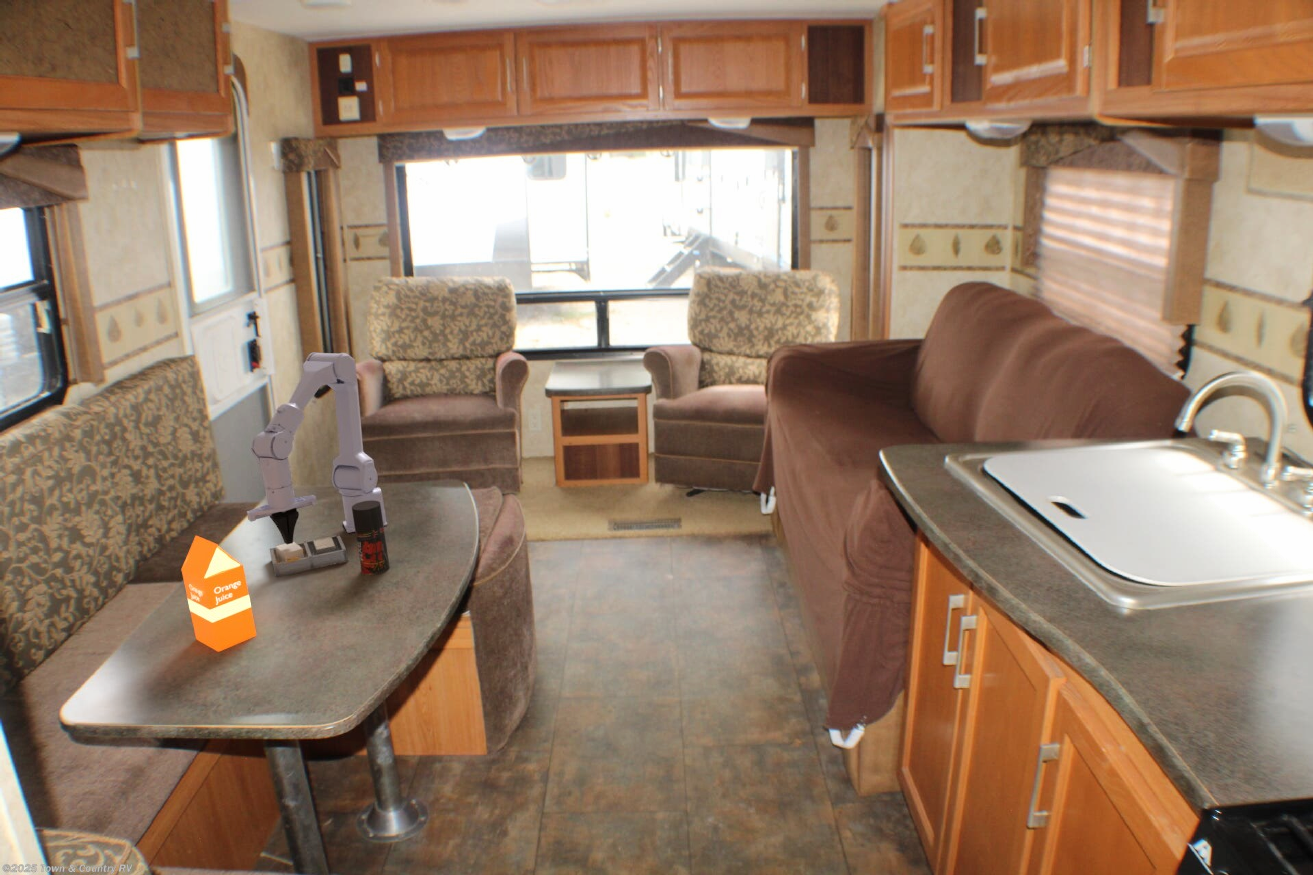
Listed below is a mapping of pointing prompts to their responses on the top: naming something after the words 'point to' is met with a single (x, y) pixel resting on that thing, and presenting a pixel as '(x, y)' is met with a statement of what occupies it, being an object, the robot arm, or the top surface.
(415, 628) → the top surface
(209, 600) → the orange juice
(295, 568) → the rack
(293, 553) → the off-white upright block
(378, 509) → the deodorant
